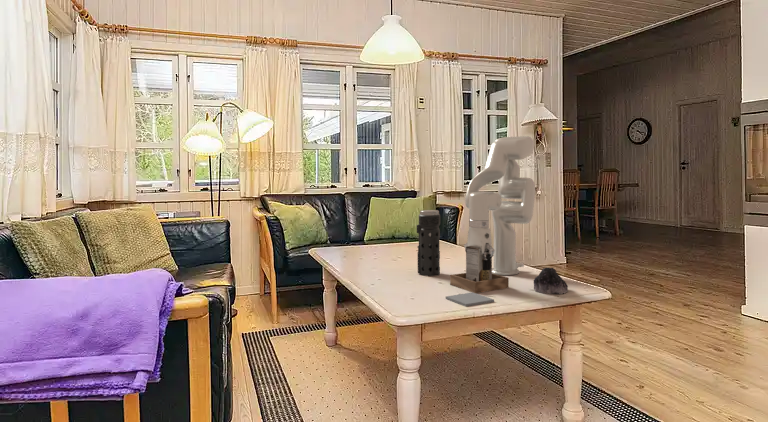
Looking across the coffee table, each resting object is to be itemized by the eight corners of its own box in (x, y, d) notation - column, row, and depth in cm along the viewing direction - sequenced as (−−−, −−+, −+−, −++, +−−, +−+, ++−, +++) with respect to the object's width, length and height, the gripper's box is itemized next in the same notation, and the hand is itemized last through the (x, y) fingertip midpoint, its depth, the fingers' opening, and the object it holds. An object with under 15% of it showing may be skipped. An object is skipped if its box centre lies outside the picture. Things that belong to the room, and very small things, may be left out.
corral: (482, 280, 209) (482, 270, 209) (508, 288, 195) (508, 277, 194) (450, 284, 202) (450, 274, 201) (475, 293, 187) (475, 282, 187)
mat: (472, 294, 186) (472, 292, 186) (494, 301, 175) (494, 299, 175) (445, 298, 180) (445, 296, 180) (465, 306, 169) (465, 304, 169)
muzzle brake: (417, 276, 218) (441, 276, 218) (417, 211, 216) (441, 211, 216) (416, 271, 228) (439, 271, 228) (415, 209, 225) (439, 209, 225)
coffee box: (478, 283, 204) (478, 243, 202) (492, 285, 199) (492, 245, 198) (465, 287, 197) (465, 246, 196) (479, 289, 193) (479, 247, 191)
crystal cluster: (553, 287, 199) (550, 262, 198) (578, 291, 186) (575, 265, 186) (525, 293, 194) (522, 267, 194) (548, 298, 181) (545, 271, 181)
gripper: (501, 225, 190) (500, 270, 191) (472, 222, 205) (472, 263, 207) (485, 227, 187) (485, 272, 188) (457, 223, 202) (457, 265, 203)
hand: (478, 268), depth 197 cm, fingers open, 9 cm apart
